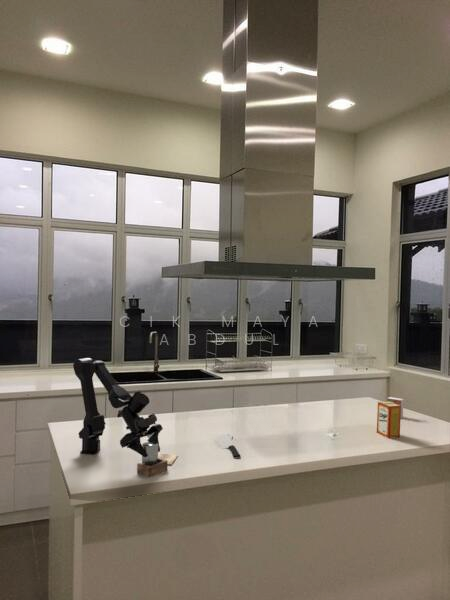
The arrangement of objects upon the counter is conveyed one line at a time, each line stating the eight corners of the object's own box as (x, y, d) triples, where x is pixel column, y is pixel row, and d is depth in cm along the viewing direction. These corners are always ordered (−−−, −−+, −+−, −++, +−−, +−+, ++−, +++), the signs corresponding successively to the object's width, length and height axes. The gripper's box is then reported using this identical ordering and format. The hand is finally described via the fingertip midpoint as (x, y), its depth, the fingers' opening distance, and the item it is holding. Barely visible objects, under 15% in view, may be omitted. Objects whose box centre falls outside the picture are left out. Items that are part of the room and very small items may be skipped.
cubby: (137, 472, 185) (137, 463, 185) (154, 465, 193) (154, 456, 193) (150, 477, 182) (150, 467, 181) (167, 469, 189) (167, 460, 189)
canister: (139, 472, 186) (140, 446, 185) (144, 466, 192) (145, 441, 191) (155, 473, 185) (155, 447, 185) (159, 468, 191) (160, 442, 190)
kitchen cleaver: (210, 434, 234) (231, 431, 235) (211, 438, 234) (231, 435, 236) (220, 457, 203) (243, 454, 205) (220, 461, 203) (244, 458, 205)
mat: (142, 463, 195) (142, 461, 195) (149, 453, 206) (149, 452, 206) (171, 465, 194) (171, 464, 194) (177, 456, 205) (177, 454, 205)
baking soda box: (399, 437, 241) (401, 405, 241) (388, 438, 239) (389, 405, 239) (387, 431, 250) (388, 400, 250) (376, 432, 248) (378, 401, 248)
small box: (386, 416, 281) (386, 398, 280) (388, 414, 285) (389, 396, 285) (400, 418, 276) (401, 400, 276) (403, 416, 281) (403, 398, 280)
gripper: (126, 412, 182) (147, 448, 176) (160, 403, 197) (180, 436, 191) (110, 429, 187) (130, 465, 181) (145, 419, 202) (164, 452, 196)
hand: (152, 453), depth 187 cm, fingers open, 7 cm apart
